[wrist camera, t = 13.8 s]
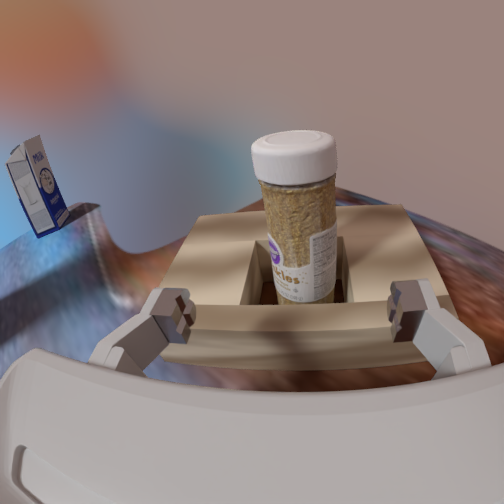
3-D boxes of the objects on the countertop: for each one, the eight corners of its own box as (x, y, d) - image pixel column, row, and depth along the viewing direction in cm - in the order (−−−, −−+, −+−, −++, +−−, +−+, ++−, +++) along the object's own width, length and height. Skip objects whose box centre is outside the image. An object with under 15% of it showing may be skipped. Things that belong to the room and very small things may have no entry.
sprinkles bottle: (266, 312, 22) (233, 143, 15) (308, 284, 24) (293, 125, 16) (305, 345, 19) (290, 154, 11) (347, 310, 21) (352, 134, 13)
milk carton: (59, 230, 46) (23, 140, 35) (37, 239, 46) (1, 155, 34) (70, 214, 52) (39, 133, 41) (49, 223, 52) (18, 146, 40)
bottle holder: (436, 359, 15) (458, 318, 13) (164, 361, 20) (139, 324, 17) (396, 243, 26) (401, 204, 24) (209, 251, 31) (199, 215, 28)
